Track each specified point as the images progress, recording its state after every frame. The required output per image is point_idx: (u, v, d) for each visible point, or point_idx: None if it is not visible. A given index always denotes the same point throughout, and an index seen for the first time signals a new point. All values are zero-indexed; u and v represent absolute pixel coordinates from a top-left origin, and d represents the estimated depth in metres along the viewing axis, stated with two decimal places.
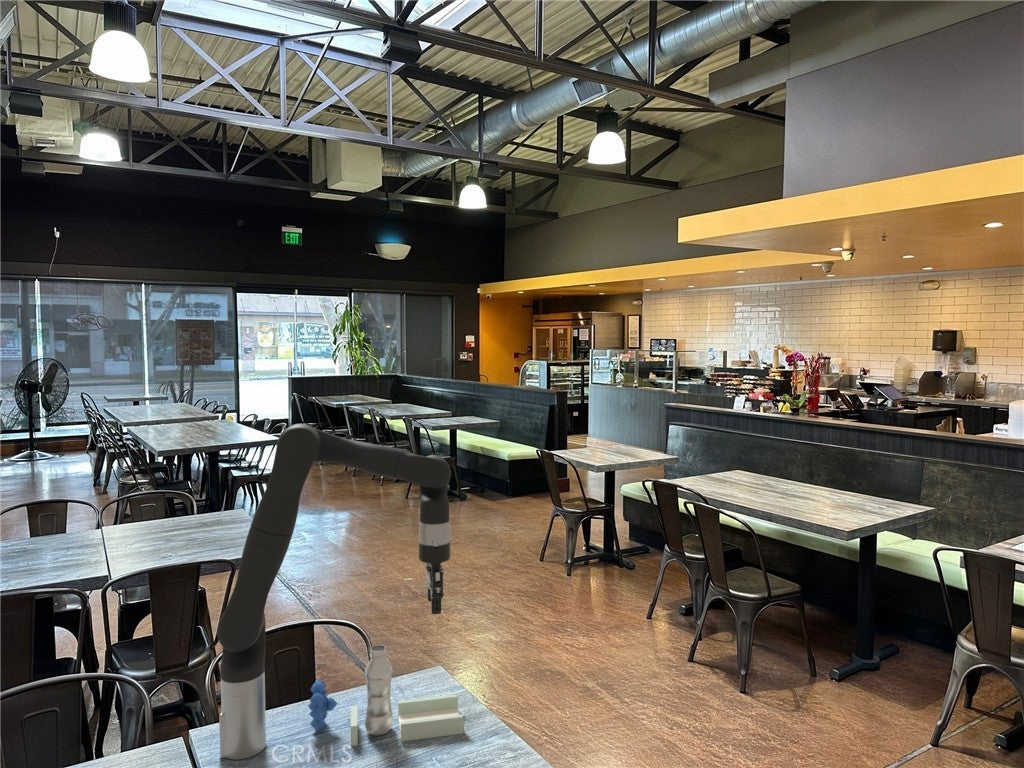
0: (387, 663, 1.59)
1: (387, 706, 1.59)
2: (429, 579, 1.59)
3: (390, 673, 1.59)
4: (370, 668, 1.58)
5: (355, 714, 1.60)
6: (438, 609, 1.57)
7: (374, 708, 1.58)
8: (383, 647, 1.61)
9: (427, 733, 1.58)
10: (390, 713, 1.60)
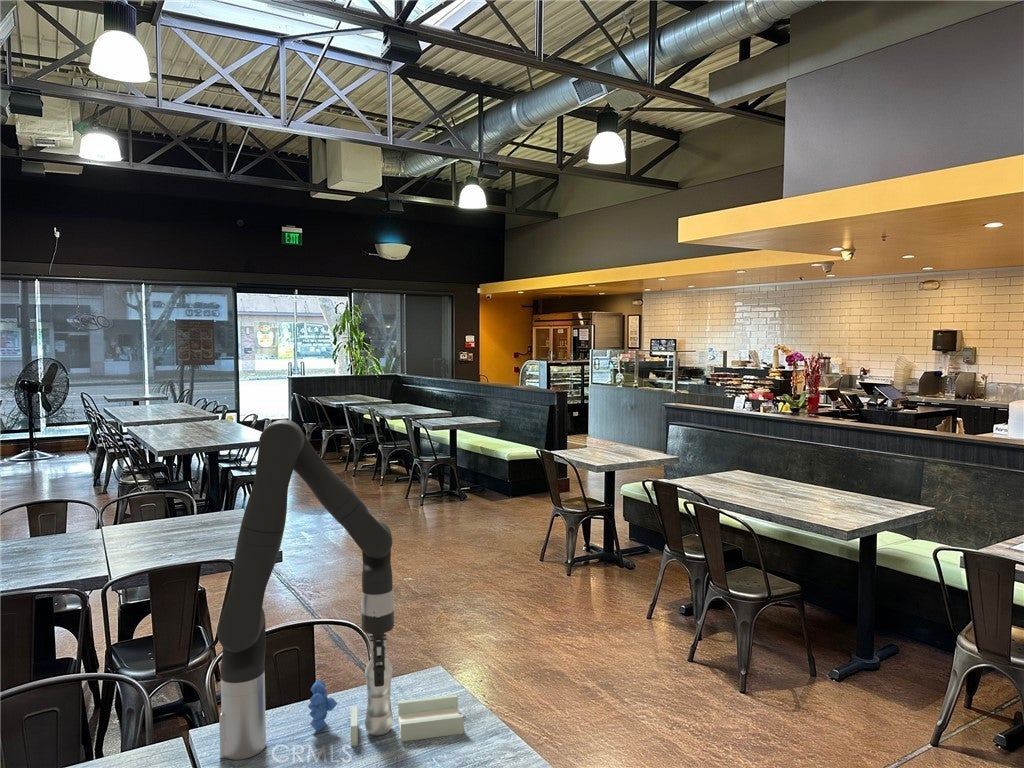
0: (387, 663, 1.59)
1: (387, 706, 1.59)
2: (372, 651, 1.57)
3: (390, 673, 1.59)
4: (370, 668, 1.58)
5: (355, 714, 1.60)
6: (380, 682, 1.56)
7: (374, 708, 1.58)
8: None
9: (427, 733, 1.58)
10: (390, 713, 1.60)
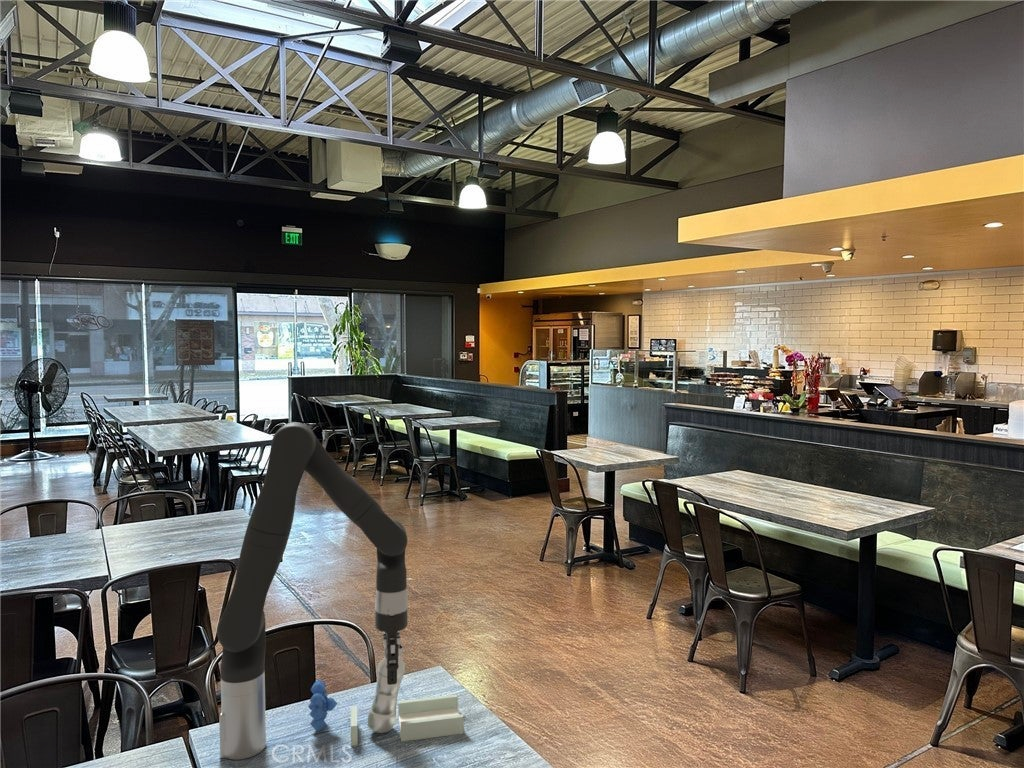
0: (401, 663, 1.60)
1: (393, 705, 1.59)
2: (385, 649, 1.57)
3: (402, 673, 1.60)
4: (384, 665, 1.58)
5: (355, 714, 1.60)
6: (394, 680, 1.56)
7: (380, 705, 1.58)
8: (400, 646, 1.62)
9: (427, 733, 1.58)
10: (394, 713, 1.60)
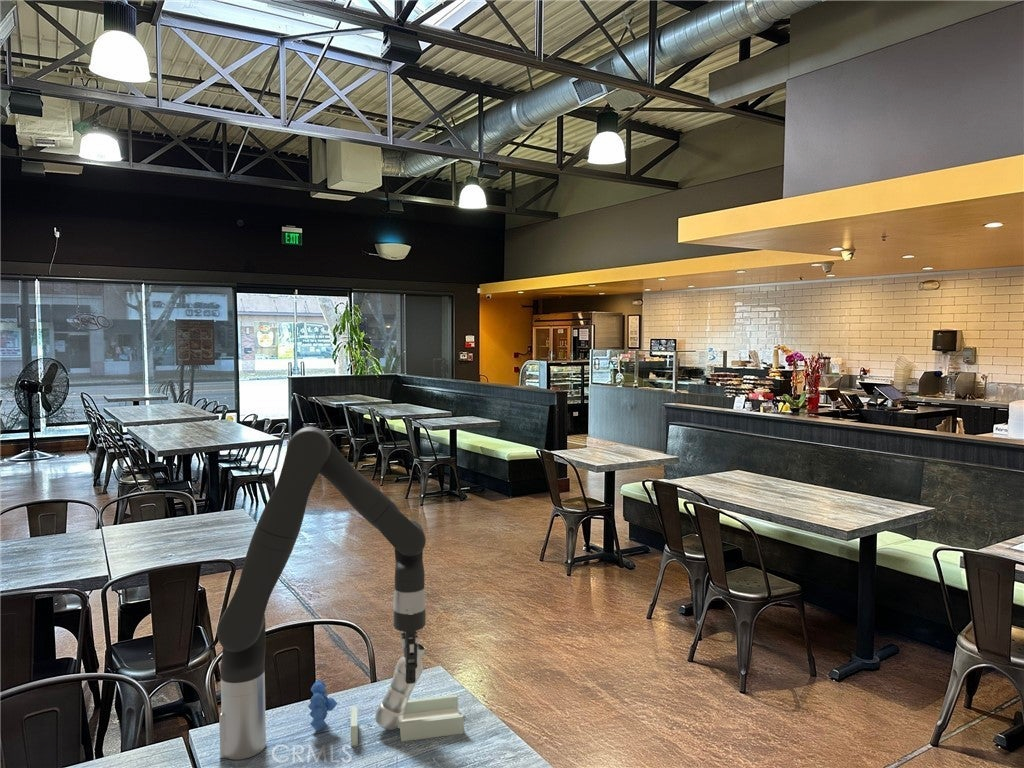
0: (420, 664, 1.61)
1: (404, 704, 1.60)
2: (404, 648, 1.58)
3: (419, 675, 1.60)
4: (404, 662, 1.60)
5: (355, 714, 1.60)
6: (412, 679, 1.57)
7: (392, 701, 1.59)
8: (422, 647, 1.63)
9: (427, 733, 1.58)
10: (403, 712, 1.60)
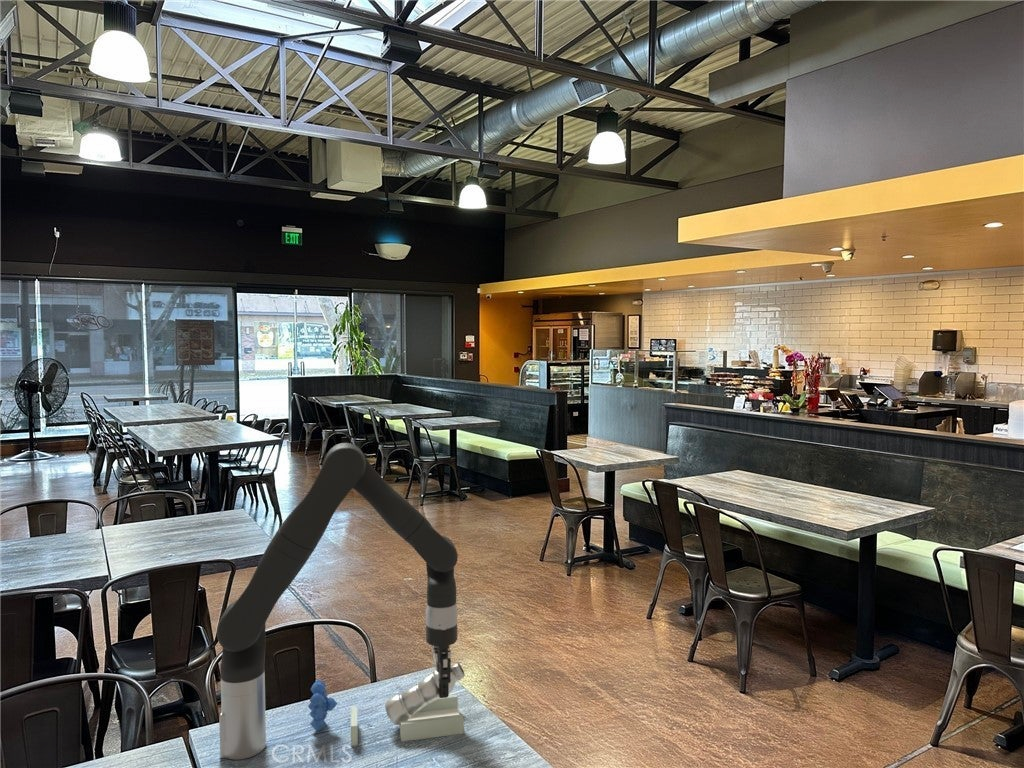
0: (453, 686, 1.63)
1: (417, 710, 1.61)
2: (437, 663, 1.60)
3: None
4: None
5: (355, 714, 1.60)
6: (445, 693, 1.59)
7: (411, 699, 1.60)
8: None
9: (427, 733, 1.58)
10: (411, 716, 1.61)
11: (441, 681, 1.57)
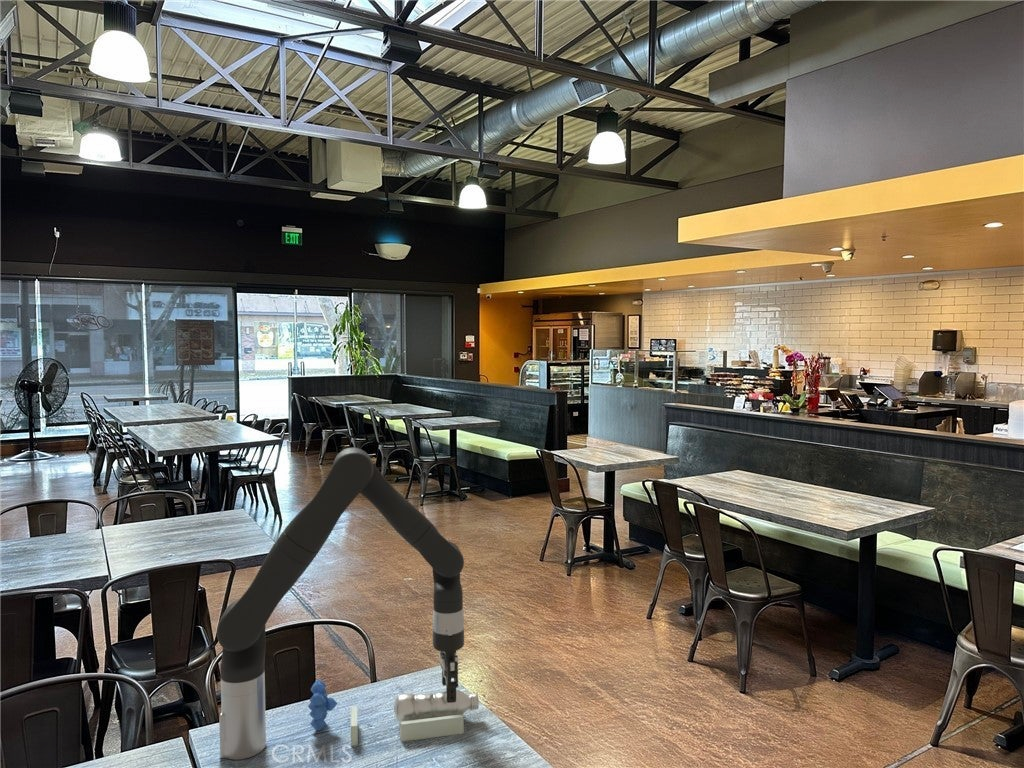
0: (464, 712, 1.64)
1: (423, 717, 1.61)
2: (444, 667, 1.60)
3: None
4: (461, 695, 1.64)
5: (355, 714, 1.60)
6: (453, 698, 1.59)
7: (424, 703, 1.61)
8: None
9: (427, 733, 1.58)
10: None
11: (449, 686, 1.57)
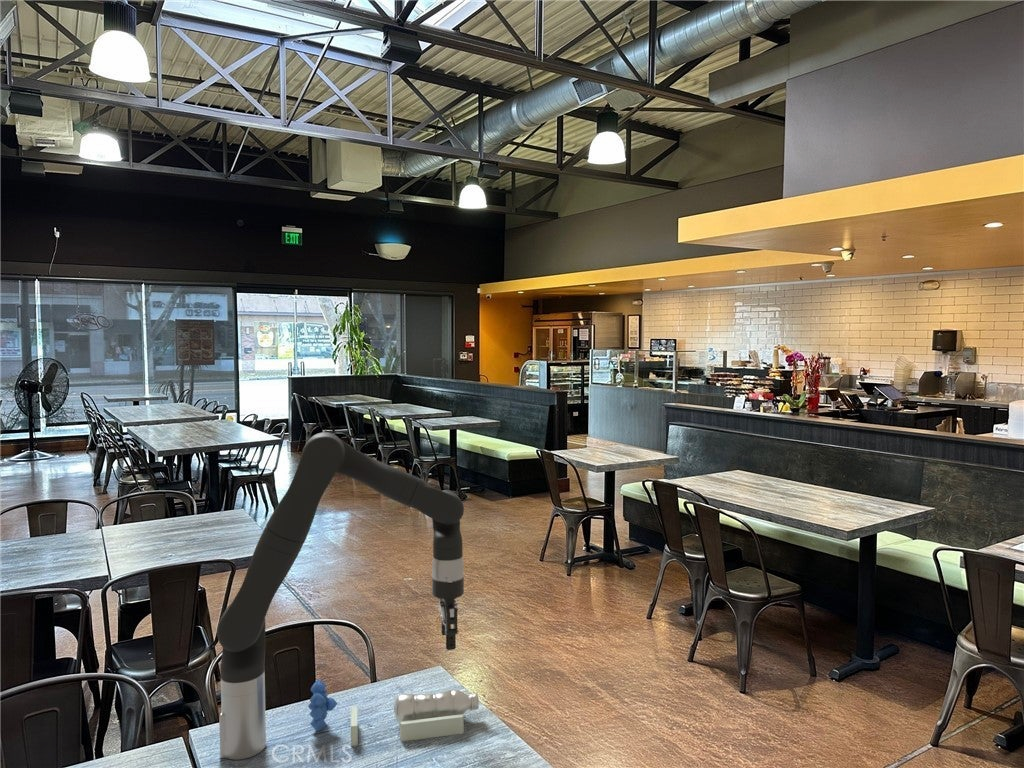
0: None
1: (423, 717, 1.61)
2: (443, 615, 1.60)
3: None
4: (461, 696, 1.64)
5: (355, 714, 1.60)
6: (453, 645, 1.58)
7: (423, 704, 1.61)
8: None
9: (427, 733, 1.58)
10: None
11: (448, 632, 1.56)
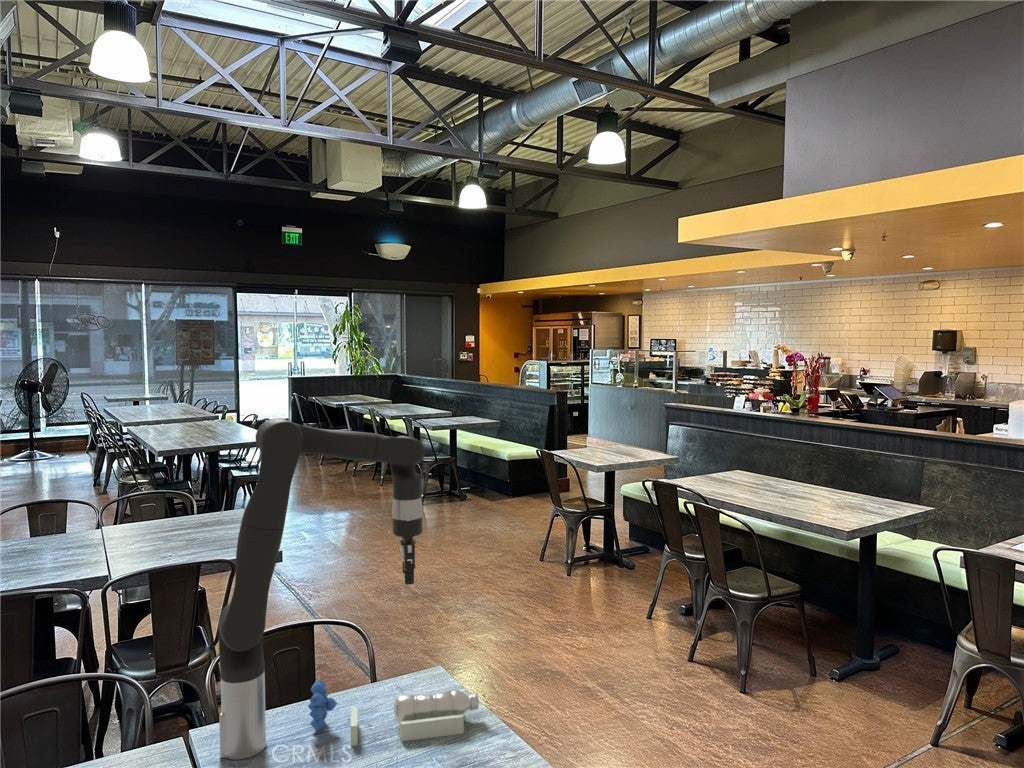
0: None
1: (423, 718, 1.61)
2: (402, 552, 1.69)
3: None
4: (461, 697, 1.63)
5: (355, 714, 1.60)
6: (411, 579, 1.68)
7: (423, 705, 1.61)
8: None
9: (427, 733, 1.58)
10: None
11: (406, 567, 1.65)
